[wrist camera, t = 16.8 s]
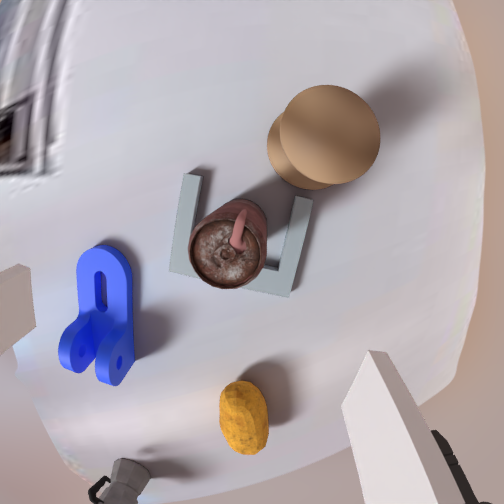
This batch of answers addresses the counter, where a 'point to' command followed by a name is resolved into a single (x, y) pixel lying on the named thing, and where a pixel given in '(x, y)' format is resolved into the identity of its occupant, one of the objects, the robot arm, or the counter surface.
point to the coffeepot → (121, 484)
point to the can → (230, 245)
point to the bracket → (101, 318)
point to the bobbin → (324, 138)
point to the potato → (244, 417)
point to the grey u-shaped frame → (269, 277)
